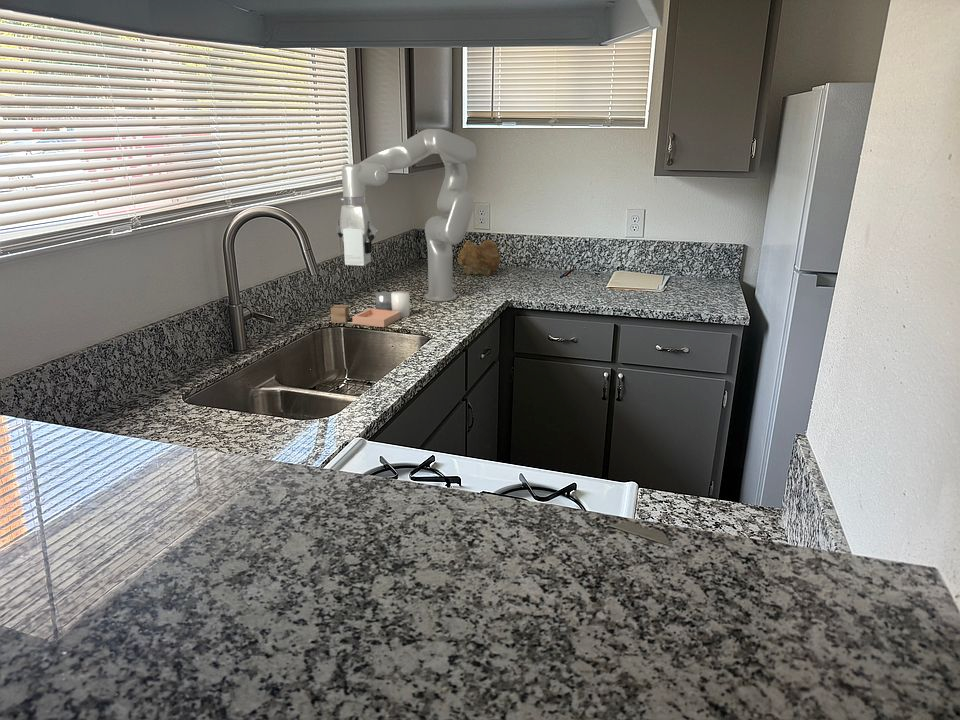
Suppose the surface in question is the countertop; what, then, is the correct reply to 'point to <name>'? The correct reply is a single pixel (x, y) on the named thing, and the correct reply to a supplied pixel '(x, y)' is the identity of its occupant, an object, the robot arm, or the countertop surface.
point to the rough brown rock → (479, 258)
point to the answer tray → (376, 317)
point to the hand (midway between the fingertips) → (357, 252)
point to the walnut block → (340, 313)
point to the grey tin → (383, 301)
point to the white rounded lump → (401, 302)
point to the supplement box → (355, 247)
